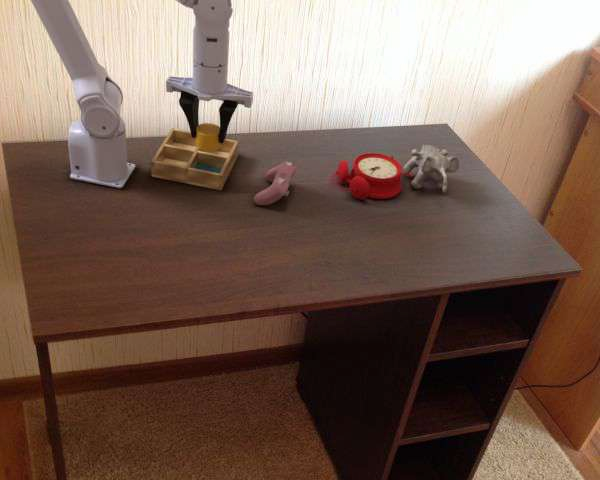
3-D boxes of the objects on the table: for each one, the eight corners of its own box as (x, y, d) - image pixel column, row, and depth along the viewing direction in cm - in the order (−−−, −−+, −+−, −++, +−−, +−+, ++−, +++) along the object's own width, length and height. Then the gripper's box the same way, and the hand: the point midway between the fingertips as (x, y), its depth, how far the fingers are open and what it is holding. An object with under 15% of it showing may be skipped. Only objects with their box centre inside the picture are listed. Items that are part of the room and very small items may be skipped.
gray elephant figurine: (428, 168, 150) (438, 132, 144) (468, 199, 144) (479, 162, 138) (392, 177, 146) (400, 140, 140) (431, 210, 140) (442, 173, 134)
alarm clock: (421, 176, 140) (358, 173, 132) (407, 206, 144) (346, 204, 136) (390, 148, 146) (328, 143, 137) (378, 178, 150) (317, 175, 141)
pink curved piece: (272, 217, 134) (292, 190, 130) (250, 202, 133) (271, 174, 128) (284, 189, 141) (304, 162, 136) (264, 175, 140) (283, 147, 135)
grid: (151, 176, 136) (151, 161, 134) (172, 142, 145) (171, 127, 143) (221, 190, 136) (222, 175, 134) (237, 155, 145) (238, 141, 142)
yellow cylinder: (192, 148, 132) (193, 132, 129) (199, 136, 135) (199, 120, 132) (217, 153, 131) (218, 137, 129) (223, 141, 134) (224, 125, 132)
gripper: (159, 61, 120) (161, 140, 129) (248, 78, 119) (243, 156, 129) (172, 44, 124) (173, 121, 134) (258, 60, 124) (252, 137, 134)
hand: (208, 137), depth 132 cm, fingers closed on yellow cylinder, 4 cm apart
